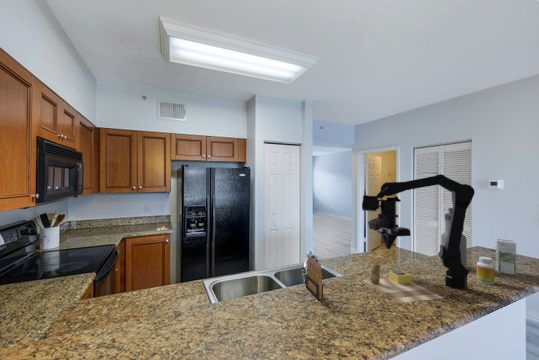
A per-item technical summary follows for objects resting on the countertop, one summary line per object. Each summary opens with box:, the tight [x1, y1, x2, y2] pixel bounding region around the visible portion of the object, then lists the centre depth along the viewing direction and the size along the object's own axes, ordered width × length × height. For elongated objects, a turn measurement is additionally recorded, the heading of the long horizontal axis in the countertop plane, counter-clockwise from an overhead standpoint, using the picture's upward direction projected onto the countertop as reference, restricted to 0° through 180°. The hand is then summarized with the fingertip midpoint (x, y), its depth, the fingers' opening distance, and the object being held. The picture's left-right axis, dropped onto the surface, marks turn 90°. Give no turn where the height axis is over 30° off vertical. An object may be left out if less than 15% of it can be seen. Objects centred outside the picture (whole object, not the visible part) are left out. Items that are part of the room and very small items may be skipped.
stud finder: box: [388, 270, 412, 284], centre depth 97 cm, size 6×5×4 cm
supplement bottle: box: [476, 256, 496, 285], centre depth 99 cm, size 5×5×10 cm
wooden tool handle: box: [370, 262, 381, 284], centre depth 94 cm, size 3×3×7 cm
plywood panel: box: [363, 277, 444, 304], centre depth 90 cm, size 18×19×1 cm
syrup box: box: [495, 238, 517, 276], centre depth 111 cm, size 6×6×14 cm
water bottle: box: [440, 207, 468, 268], centre depth 118 cm, size 10×10×28 cm
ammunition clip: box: [305, 255, 324, 301], centre depth 87 cm, size 11×2×12 cm, turn 14°
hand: (388, 248), depth 104 cm, fingers closed
